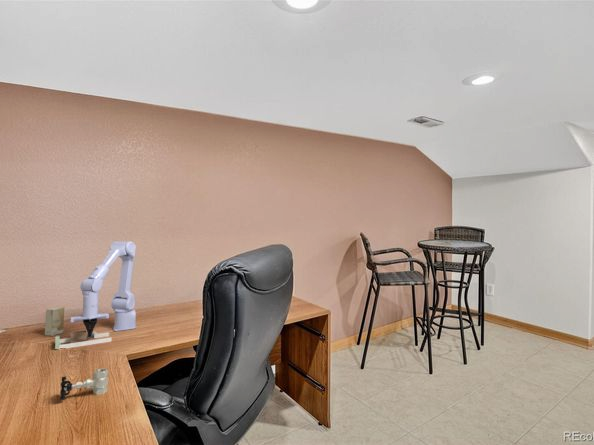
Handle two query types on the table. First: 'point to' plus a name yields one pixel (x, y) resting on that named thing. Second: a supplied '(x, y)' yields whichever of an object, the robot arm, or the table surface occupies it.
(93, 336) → the lane
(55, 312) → the skincare box
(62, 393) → the valve
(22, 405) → the table surface
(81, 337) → the block
